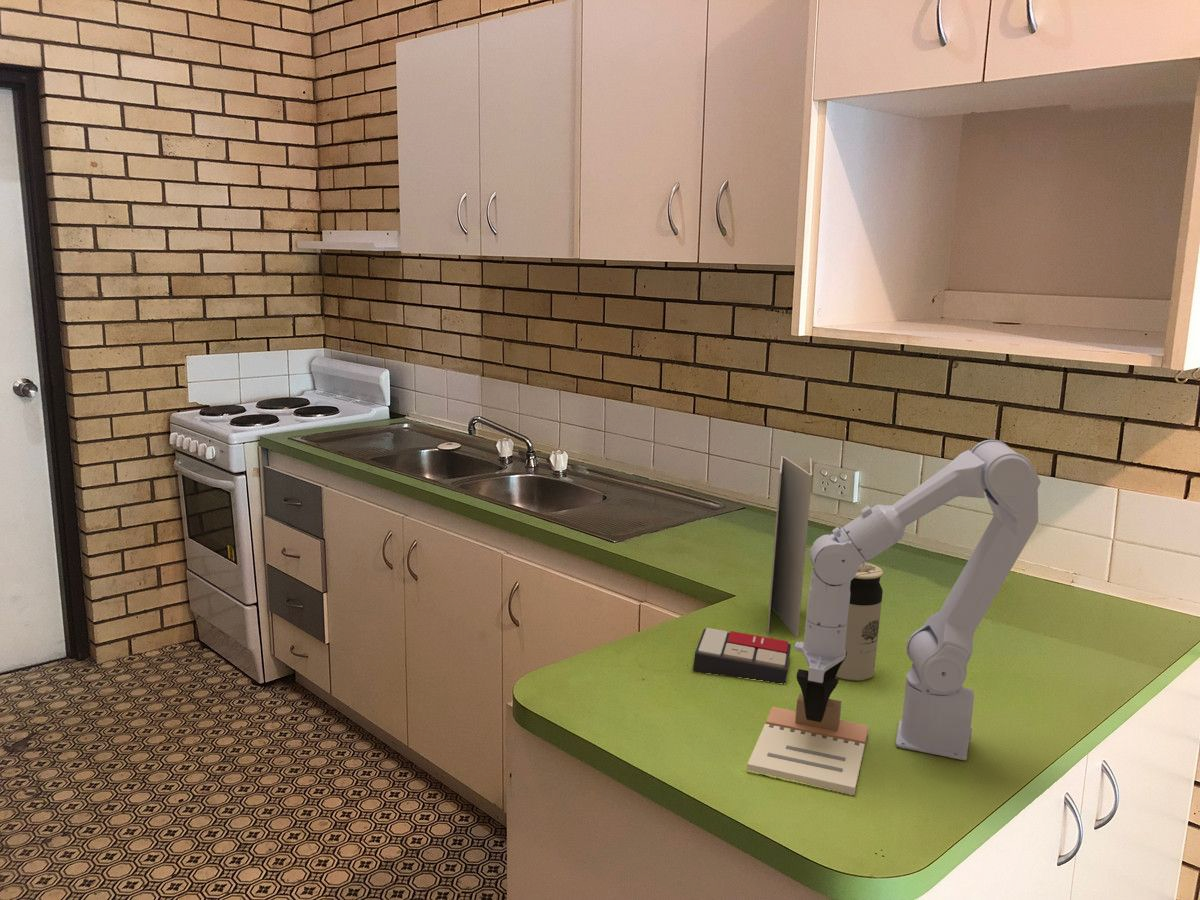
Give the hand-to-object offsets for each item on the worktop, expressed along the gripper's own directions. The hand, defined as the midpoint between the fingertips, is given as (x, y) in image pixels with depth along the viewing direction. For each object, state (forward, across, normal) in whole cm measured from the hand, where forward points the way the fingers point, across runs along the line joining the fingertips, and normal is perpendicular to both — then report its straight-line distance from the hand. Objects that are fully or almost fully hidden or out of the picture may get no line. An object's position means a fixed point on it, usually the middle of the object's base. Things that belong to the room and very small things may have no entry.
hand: (818, 708), depth 141 cm
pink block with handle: (+4, 0, 0) cm, 4 cm away
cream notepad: (+4, +9, 0) cm, 10 cm away
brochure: (+4, -40, -12) cm, 42 cm away
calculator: (+4, -18, -15) cm, 24 cm away
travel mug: (+4, -23, +2) cm, 23 cm away
